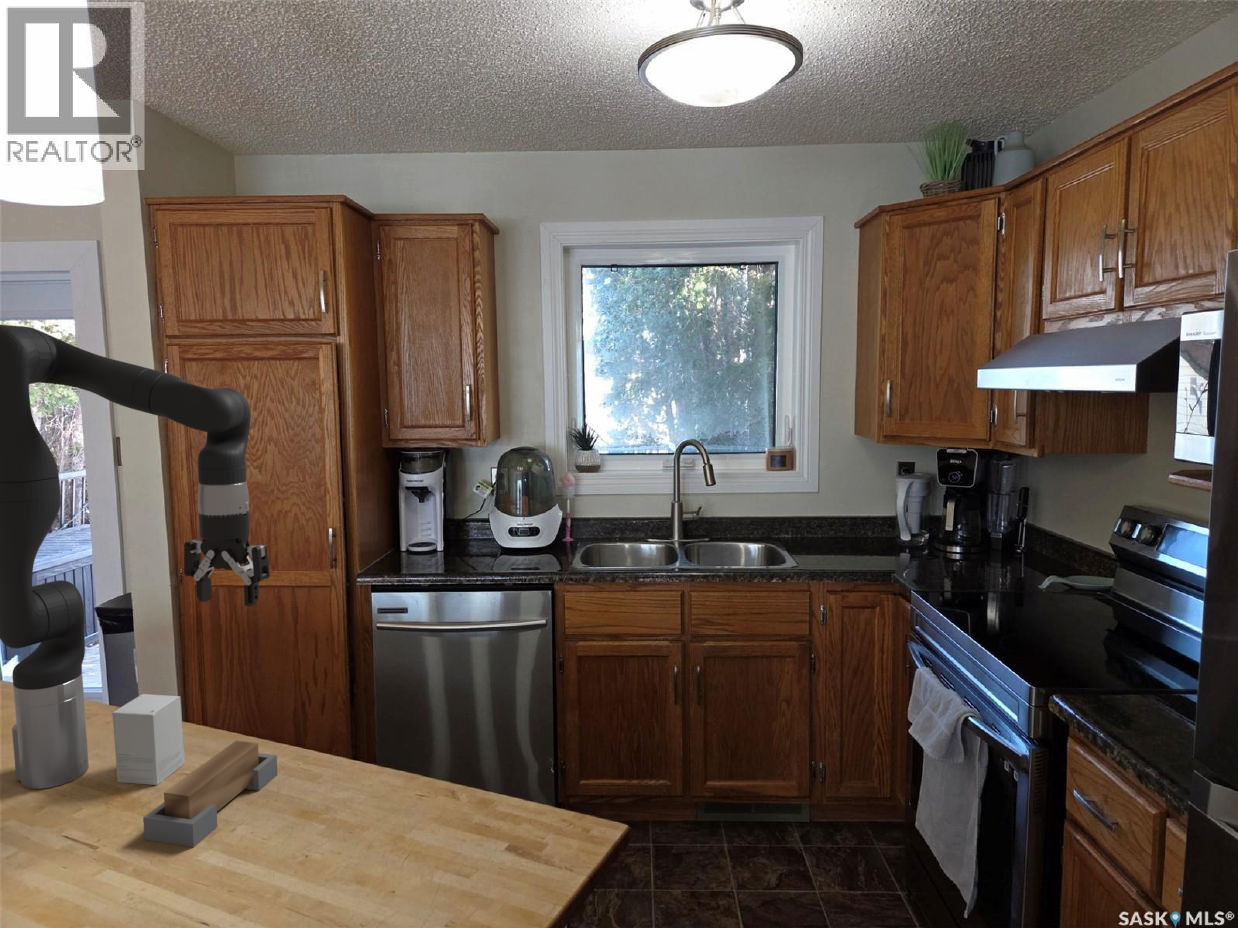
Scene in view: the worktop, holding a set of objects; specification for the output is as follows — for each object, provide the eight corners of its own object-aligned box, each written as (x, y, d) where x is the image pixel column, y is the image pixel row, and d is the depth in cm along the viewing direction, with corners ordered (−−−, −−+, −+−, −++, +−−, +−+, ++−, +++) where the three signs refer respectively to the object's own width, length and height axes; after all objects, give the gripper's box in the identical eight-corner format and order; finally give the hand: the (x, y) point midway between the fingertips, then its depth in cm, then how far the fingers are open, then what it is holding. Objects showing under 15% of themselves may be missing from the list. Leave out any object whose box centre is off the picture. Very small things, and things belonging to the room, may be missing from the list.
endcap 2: (277, 774, 130) (276, 755, 129) (259, 790, 125) (258, 770, 125) (234, 769, 131) (233, 749, 131) (214, 784, 126) (213, 764, 126)
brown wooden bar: (165, 829, 113) (163, 792, 113) (237, 773, 129) (235, 740, 128) (190, 833, 113) (188, 795, 112) (259, 776, 128) (258, 743, 127)
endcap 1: (144, 839, 112) (143, 817, 111) (170, 819, 117) (168, 798, 116) (193, 847, 110) (192, 824, 110) (217, 826, 115) (216, 804, 115)
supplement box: (186, 763, 133) (182, 695, 131) (156, 786, 126) (152, 714, 124) (147, 760, 134) (143, 692, 132) (115, 782, 126) (110, 711, 125)
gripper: (169, 510, 123) (174, 606, 125) (248, 515, 120) (251, 613, 122) (201, 502, 130) (206, 593, 132) (276, 507, 128) (279, 599, 130)
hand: (228, 602), depth 127 cm, fingers open, 8 cm apart
